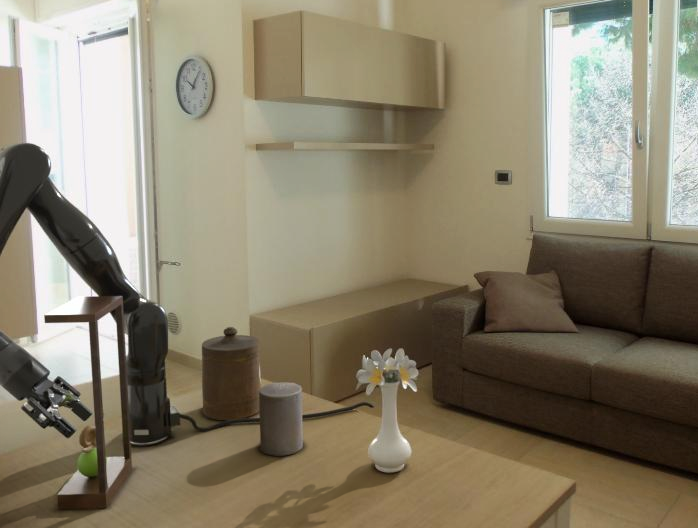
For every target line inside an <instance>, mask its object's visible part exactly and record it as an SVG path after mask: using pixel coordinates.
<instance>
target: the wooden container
mask: <svg viewBox="0 0 698 528" xmlns="http://www.w3.org/2000/svg"><path fill="white" fill-rule="evenodd" d="M260 346H261V345H260V339H258V338H257V337H255V336H252V335H247V334H246V335H245V334H238V330H237V328H235V327H233V326H228V327H226V328H225V329H223V335H220V336H219V335H218V336H215V337H211V338H208V339H206V340H204V341H203V342H202V343H201V393H202V395H201V396H202V412H203V415H205V417H207V418H209V419H213V420H218V421H227V420H233V419H245V418H251V417H253V416H254V415H257V414H258V413H259V411H260V410H259V390H260V388H261V387H262V384H261V383H262V381H261V380H262V379H261V364H260V360H261V359H260Z"/></svg>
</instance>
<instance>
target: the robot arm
mask: <svg viewBox="0 0 698 528" xmlns="http://www.w3.org/2000/svg"><path fill="white" fill-rule="evenodd" d="M51 171H52V162H51V158H50V156H49V154H48V152H47V151H46V150H45V149H44V148H42V147H41V146H39V145H37V144H35V143H31V142H15V143H10V144H5V145H3V146H2V147H0V257H1V256H2V254H3V252H4V250H5V248H6V246H7V244H8V242H9V240H10V238H11V236H12V234H13V232H14V230H15V228H16V226H17V225H18V222H19V221H20V219H21V217H22V216H23V214H24V213H25V211H26V210H27V211H28V212H29V213H30V214H31V216H32V217H33V218H34V219H35V221H36V222H37V224H38V225H39V226H40V228H41V230H42V231H43V232H44V234H45V235H46V236H47V238H48V239H49V240H50V242H51V243H52V244H53V246H54V247H55V248H56V250H57V251H58V253H59V254H60V255H61V256H62V257H63V259H65V261H66V263H67V264H68V265H69V266H70V267H71V268H72V270H74V272H75V273H76V274H77V275H78V276H79V278H80V279H81V280H82V281H83V282H84V283H85V284H86V285H87V286H88V287H89V288H90V289H91V290H92V291H93V292H94V293H95V294H96V295H97V296H123V312H124V330H125V335H127V354H126V366H127V384H128V402H129V421H130V439H131V446H134V447H135V446H136V447H148V446H153V445H157V444H160V443H163V442H165V441H167V440H168V439H172V438H173V437H172V428H173V427H177V426H181V419H182V420H185V421H188V422H190V423H191V425H192V426H193V428H194V430H195V431H197V432H208V431H211V430H215V429H218V428H220V427H223V426H227V425H232V424H238V423H239V424H241V423H242V424H243V423H260V417H247V418H243V419H233V420H222V421H220V422H218V423H216V424H213V425H211V426H207V427H200V426H199V425H198V424H197V422H196V420H195V419H194V418H193V417H191V416H190V415H186V414H183V413H181V412H180V411H179V410H178V409H177V408H176V407H175V406H174V405H171V398H170V397H168V388H167V387H168V386H167V366H166V365H167V363H166V359H167V356H168V353H169V321H168V315H167V312H166V310H165V308H164V306H162V305H161V304H160V303H158V302H155V301H153V300H150V299H148V298H146V297H145V296H144V295H143V294H142V293H141V292H140V291H139V290H138V289H137V288H136V287H135V286H134V285H133V283H131V281H130V280H129V279H128V277H127V276H126V274H125V273H124V271H123V269H122V266H121V264H120V261H119V259H118V256H117V254H116V252H115V250H114V248H113V247H112V245H111V243H110V242H109V240H107V238H106V237H105V235H104V234H103V233H102V231H101V230H100V229H99V228H98V227H97V225H96V224H95V223H94V222H93V221H92V220H91V219H90V217H89V216H87V215H86V214H85V213H84V212H82V211H81V210H80V209H79V208H78V207H76V206H75V205H74V203H72V202H70V201H69V200H68V198H66V197H65V196H64V195H63V194H62V193H61V192H60V190H59V189H58V188H57V187H56V185H55V184H54V182H53V181H52V179H51V178H50V174H51ZM109 314H110V316H111V317H112V319H113V321H114V322H115V323H116V308H115V309H114V310H112V311H111V312H109ZM50 374H51V371H50V370H49V368H47V367H46V366H45V365H44V364H42V363H41V362H40V361H39V360H38V359H37V358H36V357H35V356H33V355H32V354H31V353H30V352H29V351H27V350H26V349H25V348H24V347H22V346H21V345H19V344H18V343H16V342H15V341H14V340H12V339H11V337H9V336H8V335H7V334H6V333H4V331H2V330H1V329H0V387H2V388H3V389H4V390H5V391H6V392H7V393H9V394H10V395H11V396H12V397H13V398H14V399H16V401H19V402H22V401H24V400H25V399H26V401H25V402H24V403H23V404H22V405H21V407H20V409H21V410H22V411H23V412H24V413H25V414H26V415H27V416H29V418H31V420H33V421H34V422H35V423H36V424H37V425H38V426H39V427H40V428H41V429H44V430H45V429H47V427H49V428H54V429H55V430H56V431H57V432H59V433H60V434H61V435H62V436H63V437H65V438H66V439H70V438H71V437H72V436H73V435H74V434H75V433H76V432H77V428H75V426H73V425H72V424H71V423H70V422H69V421H68V420H67V419H65V418H64V417H62V416H61V414H60V412H59V408H61V407H64V408H67V409H70V412H72V413H73V414H74V415H75V416H77V417H78V418H79V419H81V420H82V422H86V421H88V420H89V418H90V417H92V416H93V412H92V410H90V409H89V408H88V407H87V406H86V405H84V404H83V403H82V402H81V401H80V400H81V399H80V396H81V395H82V393H81V392H80V391H78V390H77V388H76V387H74V386H72V385H71V384H70V383H69V382H68V381H67V380H65V379H64V378H62V377H61V376H60V375H57V376H56V377H55V378H54V379H53V380H51V379H49V378H48V377H49V376H50ZM364 406H367V407H369V408H371V409H373V408H375V405H373V404H372V403H371V402H368V401H361V402H358V403H356V404H353V405H350V406H345V407H341V408H336V409H332V410H327V411H322V412H314V413H307V414H302V420H303V419H312V418H318V417H319V418H320V417H326V416H330V415H334V414H338V413H343V412H344V413H345V412H348V411H352V410H355V409H358V408H360V407H364ZM43 419H44V420H43Z"/></svg>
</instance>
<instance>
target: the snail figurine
mask: <svg viewBox="0 0 698 528" xmlns="http://www.w3.org/2000/svg"><path fill="white" fill-rule="evenodd" d="M105 414H106V412H105V411H103V420H104V422H105ZM78 441H79V445H80V446H81V447H83V448H81V450H80V451H81V452H82V453H81V454H80V455H79V456H78V458H77V462H76V466H77V470H79V472H80V473H81V474H82V475H84V476H86V477H95V476H97V475H98V464H97V448H96V432H95V424H94V425H93V424H89V425H86V426H85V427H84V428H83V429H82V430H81V432H80V434H79V438H78ZM106 464H107V458H106Z"/></svg>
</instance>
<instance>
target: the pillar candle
mask: <svg viewBox="0 0 698 528" xmlns="http://www.w3.org/2000/svg"><path fill="white" fill-rule="evenodd" d="M259 410H260V411H259V412H258V413H259V418H260V422H259V434H260V435H259V438H260V441H259V442H260V447H259V449H260V451H261V452H262V453H263V454H266V455H268V456H275V457H283V456H289V455H293V454H296V453H298V452H299V451H301V450H302V449H303V446H304V445H303V444H304V442H303V419H302V415H303V387H302V386H301V385H299V384H296V383H295V382H285V381H284V382H283V381H282V382H272V383H268V384H266V385H262V386H261V388H260V390H259Z"/></svg>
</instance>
